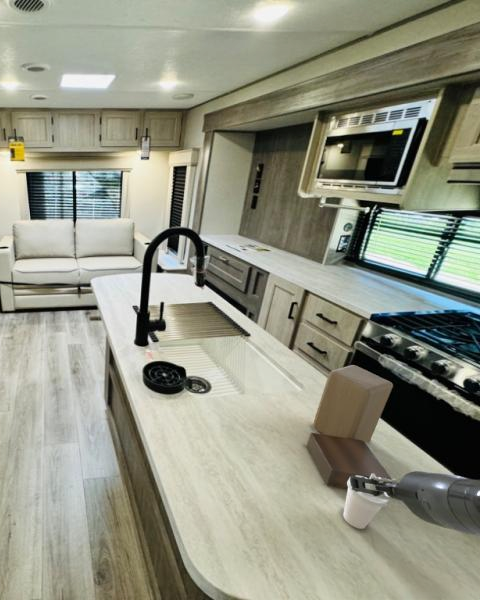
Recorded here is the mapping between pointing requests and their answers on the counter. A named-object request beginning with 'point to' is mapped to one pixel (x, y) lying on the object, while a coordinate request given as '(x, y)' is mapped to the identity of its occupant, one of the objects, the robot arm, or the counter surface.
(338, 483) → the walnut block
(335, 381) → the wooden block
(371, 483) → the robot arm
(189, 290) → the counter surface
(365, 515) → the smoothie
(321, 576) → the counter surface
